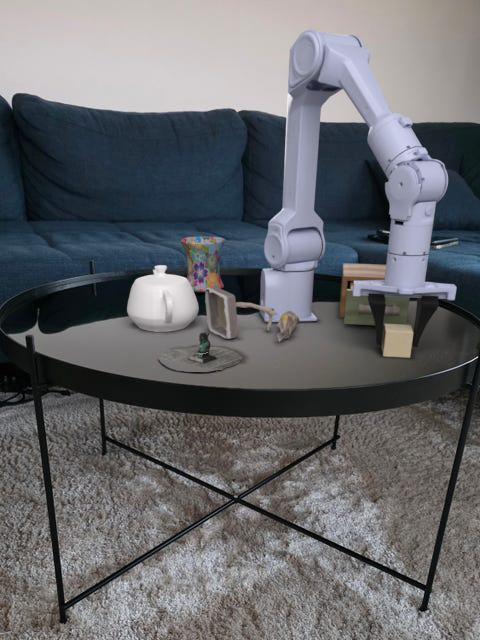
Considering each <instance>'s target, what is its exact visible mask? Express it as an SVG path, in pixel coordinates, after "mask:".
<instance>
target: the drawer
mask: <svg viewBox="0 0 480 640" xmlns="http://www.w3.org/2000/svg"><path fill="white" fill-rule="evenodd" d="M353 283H354V281H350V284H349V289H347V293H346V305H345V317H344V318H343V324H344V325H361V326H375V321H374V318H373V314H372V311H371V308H370V305H369V302H368V296H363V295H360V296H353ZM410 298H411V297H388V296H385V304H386V308H385V314H384V321H383V327H384V324H402V325H407V322H408V313H409V306H410V300H411V299H410Z"/></svg>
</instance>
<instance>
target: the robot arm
mask: <svg viewBox="0 0 480 640" xmlns="http://www.w3.org/2000/svg"><path fill="white" fill-rule="evenodd" d="M370 59H371V53H370V52H369V50H368V49H367V48H366V47H365V45H364V42H363V40H362V38H360V36H358V35H356V34H355V35H354V34H349V35H347V34H339V33H331V32H325V31H318V30H316V29H311V28H309V29H306V30H304V31H302V32H301V33H300V34H299V36H298V37H297V38H296V40H295V41H294V43H293V44H292V46H291V47H290V49H289V59H288V78H287V79H288V81H287V100H286V121H285V122H286V123H285V144H284V162H283V163H284V167H283V185H282V186H283V187H282V207H281V210H280V211H279V212H278V213H276V215H274V216H273V217H272V218H271V219H270V220H269V222H268V223H267V226H268V227H267V234H266V236H265V239H264V242H263V243H264V245H263V252H264V256H265V259H266V261H267V263H268V264H269V267H268V268H262V269H261V272H260V273H261V274H260V295H259V297H260V299H259V305H260V306H264V307H270V308H271V309H272V310H273V311H275V312H277V315H274V316H272V323H278V322H279V321H280V318H281V316H282V315H283V314H284V313H285V312H287V311H292V312H294V313H295V315H296V316H297V317H298V318H299V322H317V321H318V317H317V316H316V315H315V314H314V312H312V310H313V293H314V277H315V276H314V275H315V268H317V267H318V264H319V262H320V261H321V260H322V259H323V257H324V256H325V252H326V239H325V235H324V221H323V220H322V218H321V217H320V216H319V215H318V214H317V213H316V211H315V203H316V202H315V200H316V188H317V186H316V185H317V172H318V157H319V145H320V143H319V141H320V130H321V129H320V126H321V115H322V114H321V113H322V108H323V106H324V104H325V103H326V102H327V101H328V100H329V99H330V98H331V97H332V96H334V95H336V94H337V93H339V92H340V91H342V90H343V91H344V92H345V94H346V95H347V97H348V99H349V100H350V101H351V103H352V104H353V106H354V107H355V109H356V110H357V112H358V114H359V115H360V116H361V118H362V120H363V121H364V122H365V124H366V125H367V127H368V128H369V130H368V133H367V139H366V141H367V145H368V146H369V148H370V150H371V151H372V153H373V155H374V157H375V159H376V160H377V162H378V164H379V166H380V167H381V169H382V171H383V173H384V175H385V176H386V179H387V180H388V181H387V182H385V183H384V191H385V196H386V199H387V201H388V204H389V210H388V215H390V216H389V217H390V227H389V237H388V246H387V253H386V264H385V265H386V272H385V280H369V281H354V283H353V296H360V295H363V296H368V302H369V305H370V308H371V311H372V314H373V318H374V321H375V325H374V327H375V336H376V337H375V338H376V339H375V342H376V346H382V339H383V330H384V326H383V321H384V314H385V308H386V304H385V296H388V297H410V298H411V299H412V298H414V299H416V307H415V317H414V318H415V319H414V325H413V328H412V330H413V332H414V333H413V340H412V348H418V346H419V343H420V341H421V337H422V336H423V333H424V330H425V329H426V327H427V326H428V323H429V321H431V319H432V317H433V315H434V314H435V313H436V311H437V310H438V308H439V306H440V302H439V299H440V300H447V301H455V300H456V294H457V286H456V285H455V283H443V282H442V283H441V282H434V281H433V282H432V281H426V275H427V271H428V263H429V256H430V255H429V254H430V249H431V242H432V234H433V227H434V220H435V214H436V206H437V203H438V202H440V201H441V200H442V198H443V197H444V196H445V194H446V192H447V189H448V185H449V175H448V171H447V169H446V165H445V163H444V162H442V161H441V160H440V159H436V158H432V157H431V156H430V155H429V152H428V150H427V148H426V147H423V145H422V144H421V142H420V140H419V139H418V137H417V136H416V133H415V132H414V130H413V128H412V126H413V125H414V124H413V121H412V119H411V118H410V116H405V115H404V114H403V113H398V112H392V110H391V108H390V106H389V104H388V102H387V100H386V97H385V95H384V94H383V93H384V92H383V91H382V89H381V87H380V84H379V82H378V81H377V79H376V76H375V73H374V71H373V70H372V68H371V66H370ZM259 313H260V315H261V316H262V318H263V320H264V322H265V323H268V322H269V315H268V314H267V313H266V312H262V311H261V310H259Z"/></svg>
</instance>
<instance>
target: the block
mask: <svg viewBox="0 0 480 640" xmlns="http://www.w3.org/2000/svg"><path fill="white" fill-rule="evenodd" d="M413 333H414V332H413V327H412V324H406V325H402V324H384V326H383V337H382V345H381V352H382V353H381V354H382V357H385V358H386V357H387V358H405V359H406V358H407V359H410V358H411V355H412V349H413V346H412V340H413Z"/></svg>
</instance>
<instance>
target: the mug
mask: <svg viewBox="0 0 480 640" xmlns="http://www.w3.org/2000/svg"><path fill="white" fill-rule="evenodd" d="M180 243H181V245H182V247H183V250H184V253H185V256H186V261H187V275H186V276H187V277H186V278H187V280H188V281H189V283H190V284H191V286H192V288H193V291H194V293H198V294H205V290H206V288H209V287H217V288H220V289H222V290H223V289H224V287H225V286H224V283H223V280H222V278H221V271H220V263H221V255H222V252H223V248H224V246H225V244H226V239H225V238H223V237H218V236H203V235H202V236H189V237H184V238H182V239H180Z"/></svg>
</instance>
